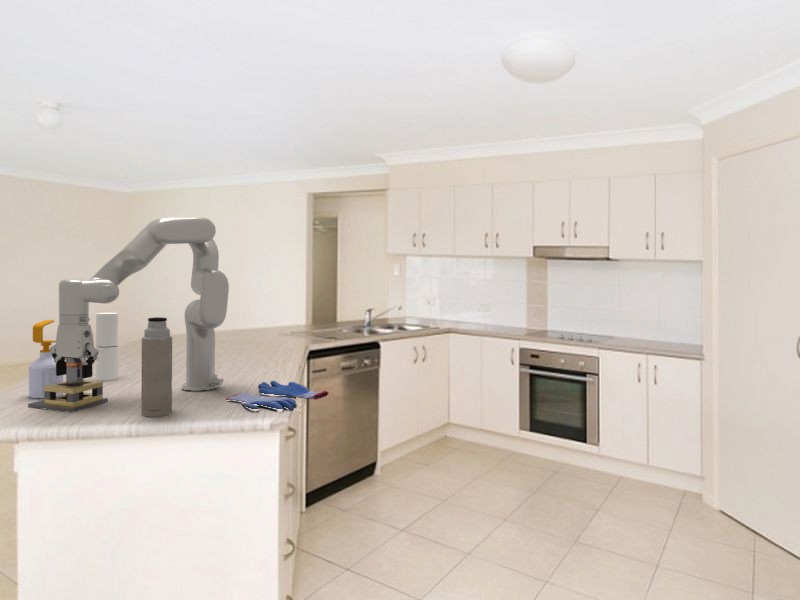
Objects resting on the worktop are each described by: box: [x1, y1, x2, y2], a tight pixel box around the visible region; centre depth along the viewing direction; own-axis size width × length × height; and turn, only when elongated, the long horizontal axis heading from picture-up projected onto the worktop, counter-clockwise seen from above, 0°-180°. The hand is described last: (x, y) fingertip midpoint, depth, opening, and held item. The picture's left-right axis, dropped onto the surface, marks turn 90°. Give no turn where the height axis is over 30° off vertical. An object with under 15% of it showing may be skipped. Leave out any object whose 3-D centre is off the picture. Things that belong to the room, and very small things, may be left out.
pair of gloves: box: [225, 380, 330, 411], centre depth 165 cm, size 32×26×4 cm
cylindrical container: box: [95, 312, 119, 382], centre depth 188 cm, size 7×7×25 cm
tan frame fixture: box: [27, 379, 109, 413], centre depth 152 cm, size 16×13×6 cm
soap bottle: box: [28, 319, 64, 399], centre depth 161 cm, size 9×9×25 cm
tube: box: [65, 357, 85, 399], centre depth 151 cm, size 5×5×14 cm
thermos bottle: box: [141, 316, 173, 418], centre depth 144 cm, size 8×8×28 cm
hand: (74, 376), depth 151 cm, fingers open, 9 cm apart
